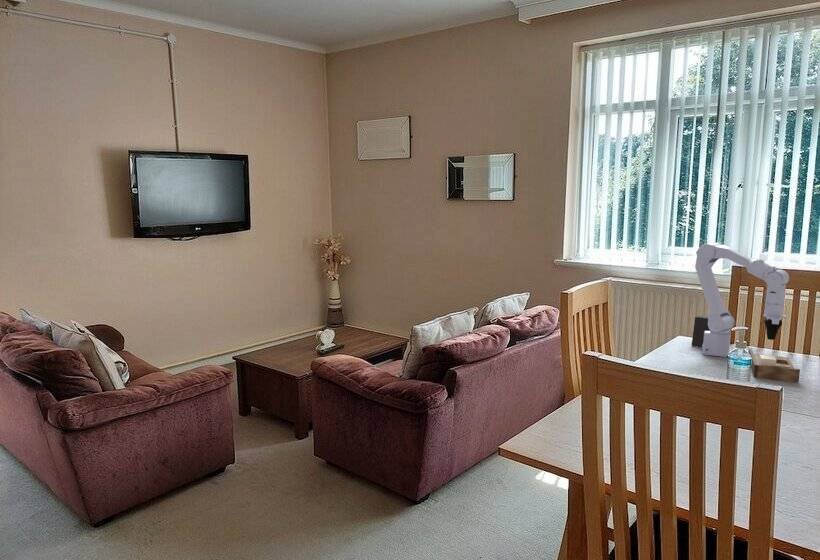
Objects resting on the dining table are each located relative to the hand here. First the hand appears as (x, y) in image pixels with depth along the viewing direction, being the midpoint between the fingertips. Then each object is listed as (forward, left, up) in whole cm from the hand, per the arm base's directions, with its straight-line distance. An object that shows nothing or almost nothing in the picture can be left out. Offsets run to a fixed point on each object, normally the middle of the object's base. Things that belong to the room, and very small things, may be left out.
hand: (770, 339), depth 210 cm
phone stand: (-22, +20, -10) cm, 31 cm away
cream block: (-2, -14, -8) cm, 16 cm away
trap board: (0, -6, -10) cm, 11 cm away
